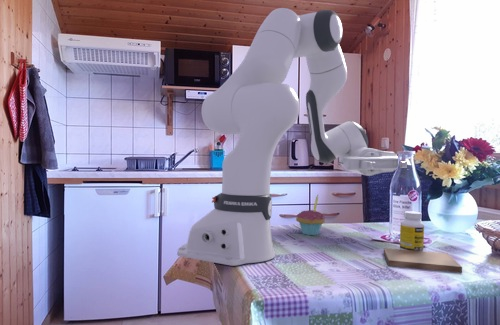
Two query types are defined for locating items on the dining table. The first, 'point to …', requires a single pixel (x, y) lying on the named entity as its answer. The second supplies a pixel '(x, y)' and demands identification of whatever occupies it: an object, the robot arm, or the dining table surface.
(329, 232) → the dining table surface
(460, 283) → the dining table surface
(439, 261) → the serving board
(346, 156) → the robot arm
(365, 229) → the dining table surface
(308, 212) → the cupcake
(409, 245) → the supplement bottle
